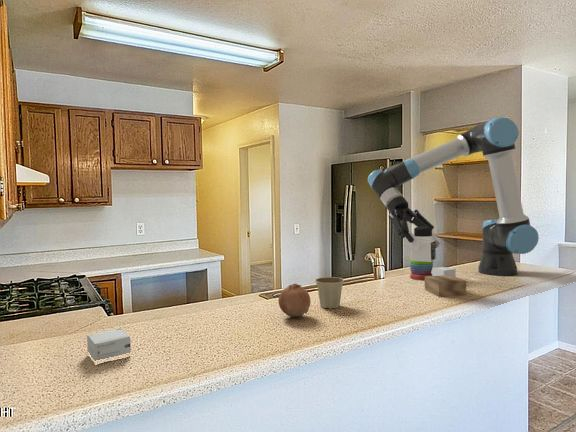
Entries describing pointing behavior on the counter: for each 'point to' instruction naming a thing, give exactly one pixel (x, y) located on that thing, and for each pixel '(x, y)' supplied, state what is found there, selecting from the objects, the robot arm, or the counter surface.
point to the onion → (294, 301)
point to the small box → (108, 344)
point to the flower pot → (329, 291)
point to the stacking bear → (420, 269)
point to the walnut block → (445, 285)
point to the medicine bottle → (424, 245)
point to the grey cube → (443, 271)
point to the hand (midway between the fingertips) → (429, 247)
